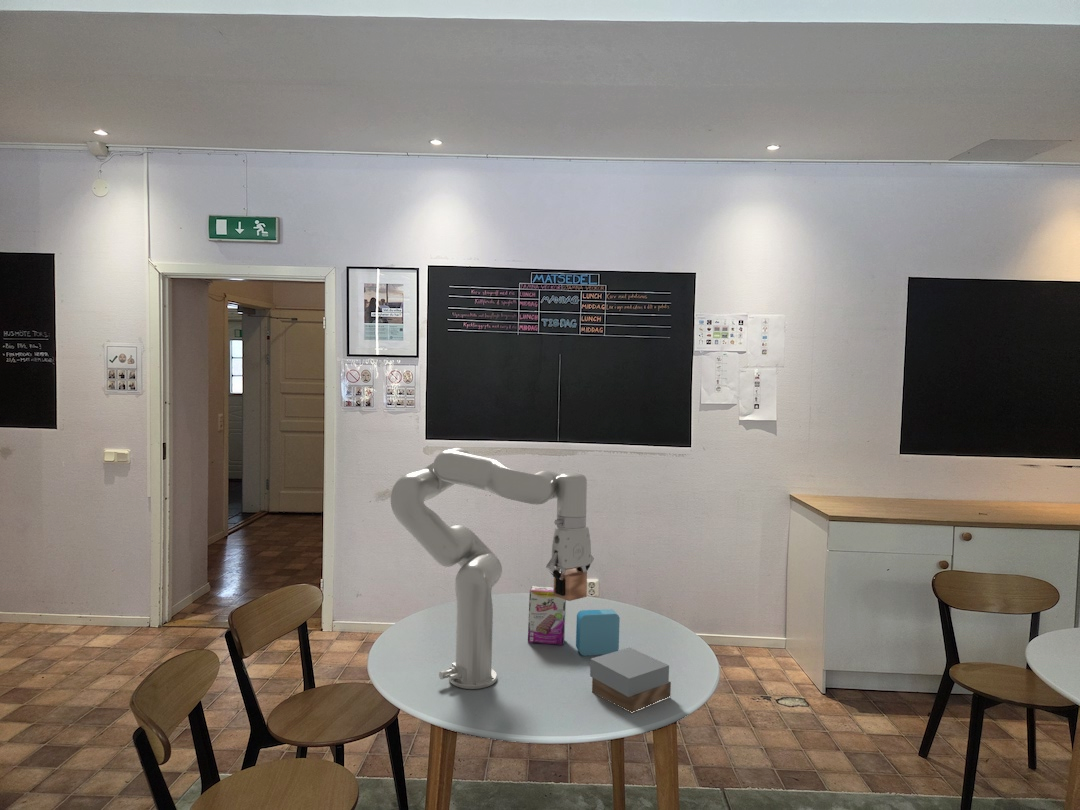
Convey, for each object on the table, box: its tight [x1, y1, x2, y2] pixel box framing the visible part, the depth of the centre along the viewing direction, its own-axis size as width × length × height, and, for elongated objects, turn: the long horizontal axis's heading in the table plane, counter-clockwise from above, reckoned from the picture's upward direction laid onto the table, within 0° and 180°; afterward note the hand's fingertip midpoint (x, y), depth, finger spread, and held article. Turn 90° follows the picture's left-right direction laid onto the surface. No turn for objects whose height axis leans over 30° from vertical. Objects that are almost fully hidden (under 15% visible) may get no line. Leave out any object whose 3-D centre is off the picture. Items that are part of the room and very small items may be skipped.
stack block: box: [553, 568, 588, 602], centre depth 170 cm, size 6×6×6 cm
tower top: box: [589, 646, 670, 697], centre depth 168 cm, size 14×14×4 cm
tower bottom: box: [591, 677, 672, 712], centre depth 169 cm, size 14×14×4 cm
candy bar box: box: [527, 585, 567, 646], centre depth 203 cm, size 11×5×16 cm, turn 84°
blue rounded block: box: [575, 608, 621, 657], centre depth 196 cm, size 12×4×12 cm, turn 102°
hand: (570, 591), depth 170 cm, fingers closed on stack block, 6 cm apart
